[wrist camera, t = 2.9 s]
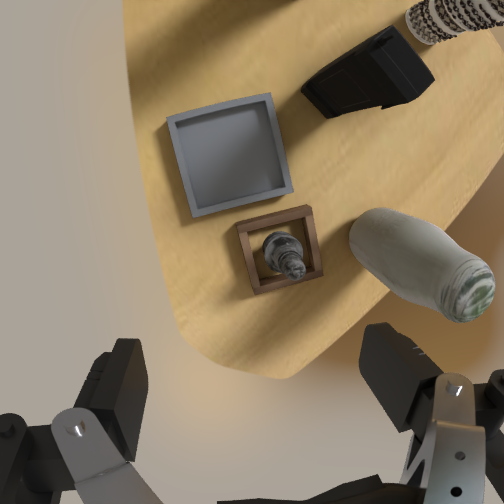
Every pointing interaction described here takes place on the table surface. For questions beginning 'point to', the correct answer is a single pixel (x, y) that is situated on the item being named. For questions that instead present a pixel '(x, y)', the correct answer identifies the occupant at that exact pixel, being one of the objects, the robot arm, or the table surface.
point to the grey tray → (230, 154)
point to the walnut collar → (273, 219)
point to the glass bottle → (422, 263)
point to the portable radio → (370, 76)
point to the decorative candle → (452, 18)
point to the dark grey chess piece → (284, 255)
